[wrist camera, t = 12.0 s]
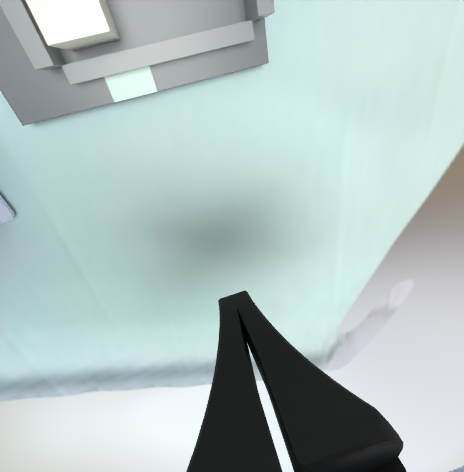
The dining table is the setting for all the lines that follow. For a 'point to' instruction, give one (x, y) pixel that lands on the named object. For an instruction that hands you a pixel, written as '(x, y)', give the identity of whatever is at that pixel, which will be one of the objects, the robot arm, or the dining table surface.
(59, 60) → the switch bank
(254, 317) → the robot arm
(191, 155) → the dining table surface
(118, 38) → the tab
